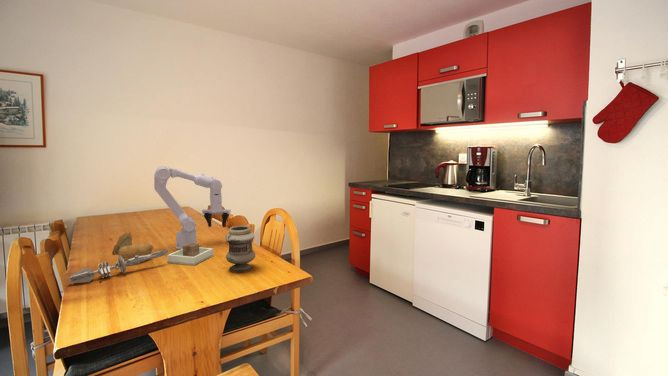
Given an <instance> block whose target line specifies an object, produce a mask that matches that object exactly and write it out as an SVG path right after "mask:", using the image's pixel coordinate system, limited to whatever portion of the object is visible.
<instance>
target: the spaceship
mask: <svg viewBox="0 0 668 376" xmlns="http://www.w3.org/2000/svg"><path fill="white" fill-rule="evenodd" d="M168 253H169V249H164V250H163V249H162V250H158V251H155V252H153V253H152V252H151V254H149V255H145V256H138V255H137V256H135V258H132V259H128V260H127V261H124V259H123V258H122V257H121V255H118V258H117V261H118V262H115V263H114V265H112V266H111V265H110V264H109V262H108V261H105V262H101V263H97V266H98V268H97V270H94V269H93V268H91V267H83V268H82V269H80V270H77V271H76V272H74V273H73V274H72V275H70V276H68V277H67V279H68V283H69V284H72V283H73V284H79V283H80V284H81V283H82V284H84V283H90V282H91V281H92V280H93V279H94V278H95V275H96V274H99V275H100V278H102V279H104V278H105V277H106V278H109V277H111V276H112V274H111V270H112V269H115V270H116V271H118V270H119V269H120V272H121V273H122V274H123V275H125V274H126V270H127V267H126V266H130V267H131V266H133V265H136V266H138V265H140V263H143V262H144V261H148V260H151V259H156V258H159V257H160V258H161V257H163V256H165V255H168ZM108 276H109V277H108Z"/></svg>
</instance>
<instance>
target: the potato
mask: <svg viewBox="0 0 668 376" xmlns="http://www.w3.org/2000/svg"><path fill="white" fill-rule="evenodd" d="M153 249H154V246H153V245H152V244H151V243H146V242H145V243H144V242H143V243H142V242H141V243H134V244H132V245H129V246H124V247H122V248H120V249H119V251H118V254H117V256H119V255H121V257H122V258H123V259H124V262H125V261H127V260H128V259H132V258H135V256H137V255H138V256H145V255H149V254H152V252H153Z"/></svg>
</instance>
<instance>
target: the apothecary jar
mask: <svg viewBox="0 0 668 376" xmlns="http://www.w3.org/2000/svg"><path fill="white" fill-rule="evenodd" d="M254 239H255V234H254V232H253V231H251V226H249V225H235V226H232V227H230V228H229V230H228V233H227V234H226V235H225V242H227V243H228V252H227V253H226V255H225V260H226V261H227V262H229V263H230V264H232V265H231V266H230V267H229V268H228V271H229V272H231V273H236V274H237V273H238V274H239V273H247V272H250V271H252V270H253V268H254V266H253V265H252V264H250V263H251V262H252V261H253V260H254V259H255V258H256V252H255V251H254V250H253V240H254Z"/></svg>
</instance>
